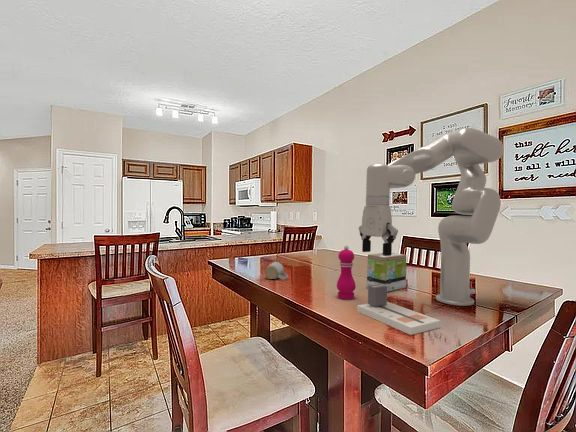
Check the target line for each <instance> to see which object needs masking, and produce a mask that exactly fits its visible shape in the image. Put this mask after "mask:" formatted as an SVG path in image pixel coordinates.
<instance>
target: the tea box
mask: <svg viewBox="0 0 576 432" xmlns="http://www.w3.org/2000/svg"><path fill="white" fill-rule="evenodd" d="M366 268H367V271H366V288H367V289H368V286H371V285H378V284H380V285H384V286H387V293H388V292H391V291H396V290H400V289H404V288H405V289H406V286H407V254H403V253H396V252H392V254H391V256H383V252H379V253H370V254H367V267H366Z"/></svg>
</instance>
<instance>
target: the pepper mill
mask: <svg viewBox="0 0 576 432" xmlns="http://www.w3.org/2000/svg"><path fill="white" fill-rule="evenodd" d="M349 248H350V247H349V246H348V245H345V246H344V247H343V249H342V250H340V251H339V253H338V255H337V256H338V260H339V267H340V275H339V277H338V279H337V283H336V289H337V290H338V292H337V298H338V299H341V300H347V301H348V300H349V301H351V300H354V299H355V292H354V291H355V290H356V282H355V279H354V277H353V273H352V268H353V267H354V262H353V261H354V259H355V254H354V252H353V251H352V250H350V249H349Z"/></svg>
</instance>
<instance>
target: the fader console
mask: <svg viewBox="0 0 576 432" xmlns="http://www.w3.org/2000/svg"><path fill="white" fill-rule="evenodd" d="M356 311H357V313H359V314H363V315H364V316H367V317H369V318H372V319H374V320H376V321H377V322H380V323H383V324H385V325H387V326H389V327H392V328H393V329H396V330H398V331H400V332H403V333H405V334H408V335H410V336H413V335H416V334H421V333H424V332H428V331H432V330H437V329H441V319H437V318H434V317H431V316H429V315H426V314H423V313H420V312H417V311H415V310H412V309H409V308H406V307H404V306H401V305H397V304H396V303H395V304H394V303H392V302H389V301H387V305H382V306H376V307H375V306H372V305H370V304H368V303H364V304H357V306H356Z"/></svg>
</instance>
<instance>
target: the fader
mask: <svg viewBox="0 0 576 432" xmlns="http://www.w3.org/2000/svg"><path fill="white" fill-rule="evenodd" d="M387 302H388V292H387V286H384V285H380V284H378V285H371V286H368V288H367V304H370V305H372V306H375V307H376V306H382V305H387Z"/></svg>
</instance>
